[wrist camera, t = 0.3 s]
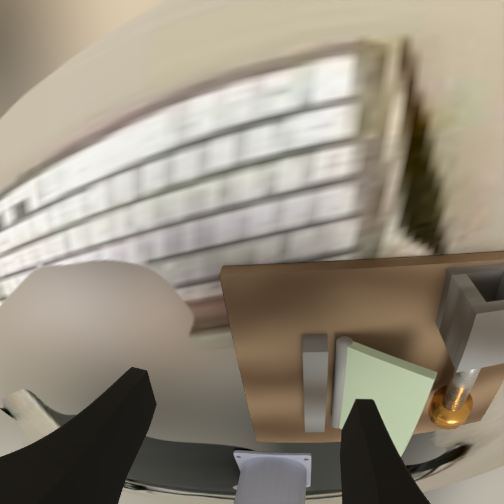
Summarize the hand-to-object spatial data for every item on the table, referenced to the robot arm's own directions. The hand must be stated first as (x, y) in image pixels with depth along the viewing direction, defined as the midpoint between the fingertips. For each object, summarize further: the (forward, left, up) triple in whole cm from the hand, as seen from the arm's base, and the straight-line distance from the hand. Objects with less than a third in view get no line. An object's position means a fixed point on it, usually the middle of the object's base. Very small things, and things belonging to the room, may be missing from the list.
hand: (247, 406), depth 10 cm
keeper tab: (-9, -7, -7) cm, 13 cm away
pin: (-7, -13, -8) cm, 17 cm away
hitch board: (-9, -8, -10) cm, 15 cm away
